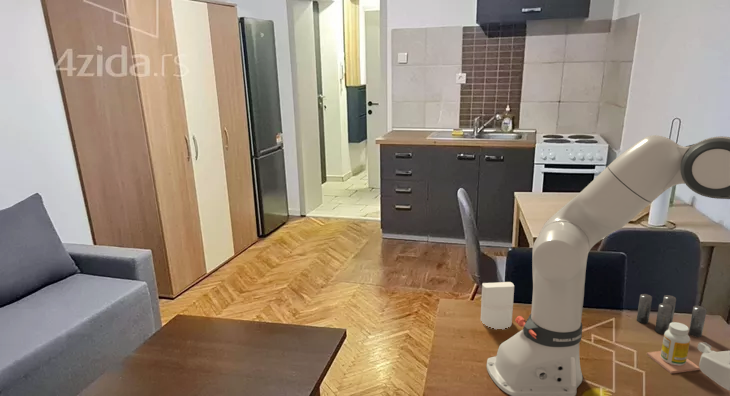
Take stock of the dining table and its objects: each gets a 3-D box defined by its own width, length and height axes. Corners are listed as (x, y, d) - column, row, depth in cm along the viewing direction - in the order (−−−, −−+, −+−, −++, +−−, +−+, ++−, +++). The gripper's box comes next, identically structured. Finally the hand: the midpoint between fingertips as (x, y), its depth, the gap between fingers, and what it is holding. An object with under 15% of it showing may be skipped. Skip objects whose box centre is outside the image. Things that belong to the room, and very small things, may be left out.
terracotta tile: (670, 373, 111) (671, 371, 111) (646, 354, 119) (646, 352, 119) (699, 369, 112) (700, 367, 112) (673, 351, 120) (674, 349, 120)
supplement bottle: (656, 359, 116) (662, 325, 113) (665, 351, 119) (670, 318, 116) (681, 369, 112) (687, 334, 109) (689, 360, 115) (695, 326, 112)
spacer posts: (665, 341, 124) (670, 314, 122) (634, 318, 136) (637, 294, 134) (704, 336, 126) (709, 310, 124) (670, 315, 138) (674, 290, 135)
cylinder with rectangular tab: (505, 313, 141) (507, 277, 138) (516, 328, 132) (519, 291, 129) (476, 314, 141) (478, 278, 137) (485, 330, 132) (487, 292, 129)
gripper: (832, 364, 89) (763, 326, 102) (741, 375, 86) (681, 334, 99) (824, 392, 91) (756, 351, 104) (734, 403, 88) (676, 359, 101)
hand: (719, 343), depth 101 cm, fingers open, 8 cm apart
